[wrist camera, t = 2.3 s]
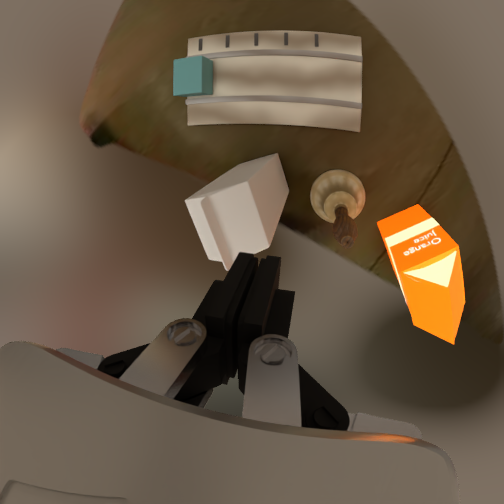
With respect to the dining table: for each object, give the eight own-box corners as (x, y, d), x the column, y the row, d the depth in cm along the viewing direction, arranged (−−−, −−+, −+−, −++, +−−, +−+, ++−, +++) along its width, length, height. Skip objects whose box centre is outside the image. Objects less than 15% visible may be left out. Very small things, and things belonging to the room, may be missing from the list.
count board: (193, 41, 31) (186, 37, 29) (358, 40, 27) (361, 36, 24) (193, 124, 38) (186, 125, 35) (357, 131, 33) (360, 132, 31)
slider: (186, 64, 31) (173, 59, 28) (212, 60, 30) (202, 55, 27) (186, 96, 34) (173, 95, 30) (212, 94, 33) (201, 92, 29)
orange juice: (418, 203, 36) (481, 270, 18) (431, 250, 38) (481, 331, 21) (375, 222, 39) (412, 303, 21) (391, 267, 41) (423, 358, 24)
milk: (252, 200, 42) (194, 279, 23) (239, 163, 39) (164, 213, 20) (290, 190, 40) (263, 267, 21) (278, 151, 37) (236, 191, 18)
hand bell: (313, 225, 41) (311, 283, 27) (306, 172, 38) (301, 205, 24) (366, 220, 39) (390, 277, 25) (362, 166, 35) (391, 197, 22)
